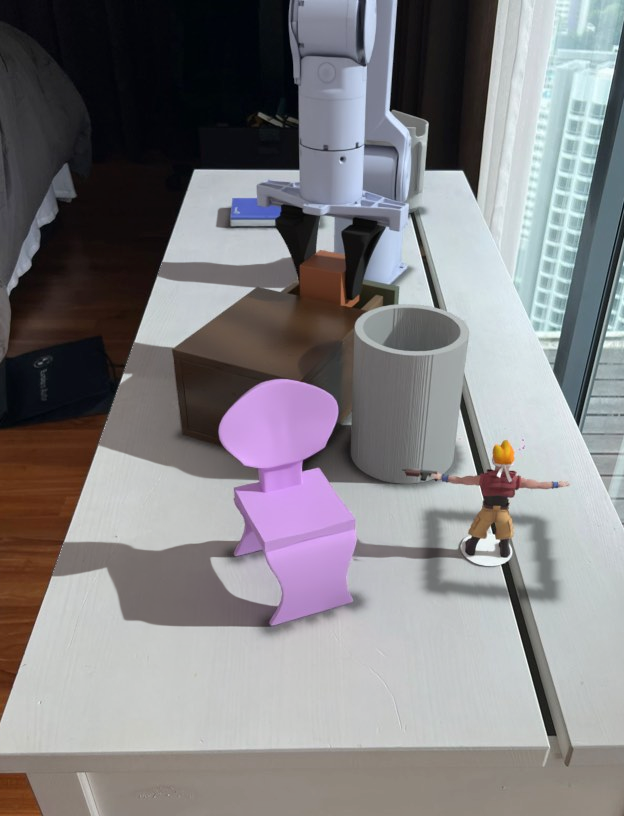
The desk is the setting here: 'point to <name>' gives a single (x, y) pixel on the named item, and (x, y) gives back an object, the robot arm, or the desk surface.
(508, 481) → the action figure
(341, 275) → the block
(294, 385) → the toy chair
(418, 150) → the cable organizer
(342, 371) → the cabinet
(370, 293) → the drawer
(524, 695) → the desk surface
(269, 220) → the blue book
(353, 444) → the cup
